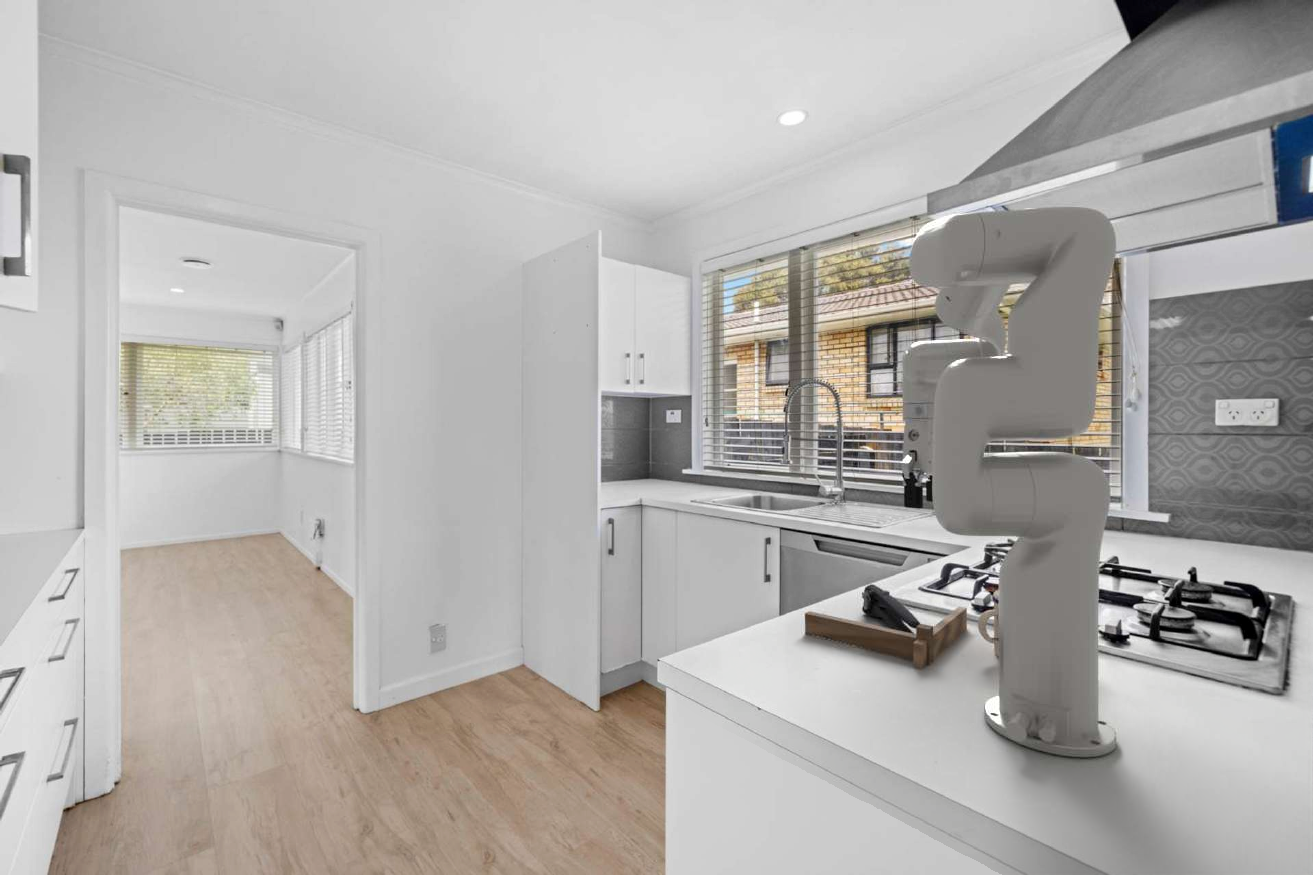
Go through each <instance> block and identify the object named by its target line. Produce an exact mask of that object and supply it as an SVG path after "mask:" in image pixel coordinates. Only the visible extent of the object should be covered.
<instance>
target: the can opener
mask: <svg viewBox="0 0 1313 875" xmlns="http://www.w3.org/2000/svg"><path fill="white" fill-rule="evenodd" d="M861 595H862V597H861V598H862V599H863V604H862V607H861V610H862V612H863V613H864V614H865V615H868V616H870V617H873V618H879V619H880V618H881V619H883V620H884V621H885V623H887V625H889V627H890V629H894V630H898V631H903V632H908V633H912V634H915V633H914V631H912V630H911V629H910V628H912V629H914V630H916V627H917V626H918V625H919V624H921V622H920V620H918V619H917V617H916V616H915V615H914V614H913V613H912V612H911V611H910V610H909V609H908V608H907V607H906V606H905V605H903V604H902V603H901V602H900V601H899V600H897V599H896V598H894V596H892V595H891V594H890V591H889V590H885V589H882V588H880V587H879V586H877V585H876V584H868V585H866V586H865V587H864V590H863V591H862V592H861ZM906 624H907V625H906ZM909 627H910V628H909Z"/></svg>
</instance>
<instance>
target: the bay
mask: <svg viewBox="0 0 1313 875" xmlns="http://www.w3.org/2000/svg"><path fill="white" fill-rule="evenodd" d="M967 614H968V612H967V607H965V606H964V607H963V606H957V607H956V608H955V609H954V610H953V611H951V612H949V613H948V614H947V616H945V617H944V618H943V619H942V620H940V621H939V622H937V623H936V624H935V625H934V626H933V625H929V624H923V623H920V624H919V625H918V626H917V627H916V629H915V631H916V632H915V633H914V634H912V633H908V632H903V631H898V630H894V629H892V628H888V627H885V626H884V627H883V626H880V625H874V624H869V623H865V622H861V621H856V620H851V619H849V618H848V619H847V618H842V617H837V616H832V615H828V614H825V613H824V614H823V613H820V612H819V613H818V612H815V611H810V610H809V611H807V612H805V613H804V635H807V634H810V635H809V636H811V635H814V636H813V637H815V636H819V637H822V638H821V639H823V638H825V639H824V640H827V639H830V640H829V641H831V640H833V641H832V642H835V641H838V642H837V643H839V642H842V643H841V644H843V643H846V644H845V645H847V644H849V645H848V646H851V645H855V646H857V647H856V648H859V647H862V648H861V649H863V648H865V650H868V649H870V650H869V651H872V652H875V653H876V652H877V653H881V654H884V655H888V656H891V657H892V656H893V657H896V656H897V658H901V659H904V658H905V659H904V660H909V661H912V660H913V668H917V669H920V670H923V669H924V668H925V667H926V666H930V665H931V664H932V663H933V662H934V659H935V658H936V657H937V656H939V654H940V653H942V652H943V651H944V650H945V649H946V648H947V647H948V646H949V645H951V643H953V642H954V641H955V640H956V639H957V638H958V637H959V636H960V635H961V634H962V633H963V632H965V630H967V627H968V626H967V625H968V624H967V622H968V617H967V616H968V615H967ZM819 637H818V638H819ZM855 646H854V647H855Z"/></svg>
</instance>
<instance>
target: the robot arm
mask: <svg viewBox="0 0 1313 875" xmlns="http://www.w3.org/2000/svg"><path fill="white" fill-rule="evenodd" d="M1116 236H1117V235H1116V232H1115V228H1114V226H1113V224H1112V222H1111V221H1110V219H1109V217H1108V216H1107V215H1105V213H1102V212H1101V211H1099V210H1097V209H1093V208H1089V207H1083V206H1082V207H1080V206H1049V207H1034V208H1033V207H1032V208H1022V209H1021V208H1019V209H1011V210H1009V209H1007V210H996V211H977V212H976V211H975V212H968V213H956V214H951V215H947V216H944V217H941V218H939V219H936V220H933V221H931V222H928V223H926V224H925V225H924V226H923V227H921V229H920V230H919V232H918V233H917V234H916V236H915V238H914V240H913V242H912V244H911V248H910V251H909V259H908V267H909V273H910V277H911V278H912V281H914V283H915V284H917V285H918V286H920V287H925V288H940V289H939V291H938V293H937V294H936V298H935V301H934V310H935V314H936V315H937V317H938V319H939V320H940V321H941V322H942V323H944V325H946V327H949V328H951V329H953V330H955V331H957V332H960V333H963V334H965V335H968V336H970V337H973V338H974V339H950V340H948V339H947V340H925V341H917V342H914V343H912V344H910V345H909V347H908V348H907V349H905V350H904V351H903V354H902V359H901V360H902V361H901V362H902V368H901V369H902V378H901V380H902V386H901V387H902V422H904V430H903V440H902V441H903V443H902V462H901V464H900V468H901V472H902V474H901V477H902V484H903V505H904V507H905V508H908V509H909V508H910V509H923V508H924V486H922V482H923V478H924V475H925V474H926V478H927V479H928V480H925V497H926V498H925V499H926V501H927V502H932V505H933V511H934V512H933V513H934V514H935V517H936V520H937V522H938V524H939V525H940V526H941V527H942V528H943V529H944V530H945V531H946V532H949V533H951V534H955V535H958V536H967V537H1015V538H1016V537H1017V540H1016V541H1015V542H1014V543H1013V544H1012V546H1011V548H1010V549H1009V550H1008V552H1007V553H1006V554H1005V556H1004V558H1003V560H1002V561H1001V564H1000V568H999V572H998V590H999V657H998V695H997V696H994V697H992V698H990V699H988V700H987V701H986V703H985V704H984V708H983V714H984V715H983V716H984V719H985V721H986V723H987V724H988V725H990V727H991V728H992V729H993V730H994V731H995V732H997V733H998V734H1000V735H1001V736H1003V737H1005V738H1007V739H1009V740H1011V741H1013V742H1015V743H1017V744H1019V745H1022V746H1024V747H1027V748H1029V749H1032V750H1036V751H1039V752H1040V751H1041V752H1043V753H1046V754H1047V753H1048V754H1053V755H1057V756H1063V757H1071V758H1093V757H1095V758H1096V757H1100V756H1105V755H1107V754H1109V753H1111V752H1112V751H1113V750H1114V749H1115V748H1116V745H1117V732H1116V731H1115V729H1114V727H1112V725H1111V724H1110V723H1109V721H1106V720H1105V719H1104V718H1102V717H1101V716H1099V600H1100V593H1099V592H1100V589H1099V588H1100V559H1101V549H1102V542H1103V537H1104V531H1105V528H1106V523H1107V519H1108V515H1109V511H1110V505H1111V486H1110V482H1109V479H1108V476H1107V475H1106V473H1105V472H1104V470H1103V469H1102V467H1100V466H1099V465H1098V464H1097V463H1096V462H1095V461H1093V460H1091V459H1089V458H1087V457H1085V456H1082V455H1079V454H1076V453H1069V452H1062V451H1012V452H985V451H986V448H987V445H988V444H989V443H990V442H1006V441H1007V442H1012V441H1013V442H1014V441H1015V442H1016V441H1019V442H1020V441H1051V440H1063V439H1070V438H1074V437H1077V436H1080V435H1082V434H1084V433H1085V432H1086V431H1087V430H1088V429H1089V428H1090V427H1091V424H1092V423H1093V419H1094V416H1095V413H1096V412H1095V411H1096V405H1097V403H1096V402H1097V390H1098V389H1097V388H1098V386H1097V385H1098V364H1099V345H1100V344H1099V343H1100V317H1101V310H1102V309H1101V308H1102V304H1103V300H1104V296H1105V293H1106V289H1107V287H1108V284H1109V281H1110V278H1111V276H1112V271H1113V268H1114V266H1115V262H1116V261H1115V260H1116V254H1117V239H1116ZM1024 284H1025V285H1026V284H1028V285H1027V287H1026V288H1025V289H1024V290H1023V291H1022V293H1021V294H1020V296H1019V297H1018V298H1017V300H1016V301H1015V302H1014V304H1013V306H1011V309H1010V310H1009V311H1010V312H1009V314H1008V317H1007V328H1006V324H1005V321H1004V319H1003V316H1002V315H1001V314H1000V312H999V311H998V308H999V307H1000V306H1001V303H1002V302H1003V300H1004V298H1005V296H1006V294H1007V293H1008V291H1009V289H1010V287H1011V286H1012V285H1024ZM1004 353H1005V354H1004Z"/></svg>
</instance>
